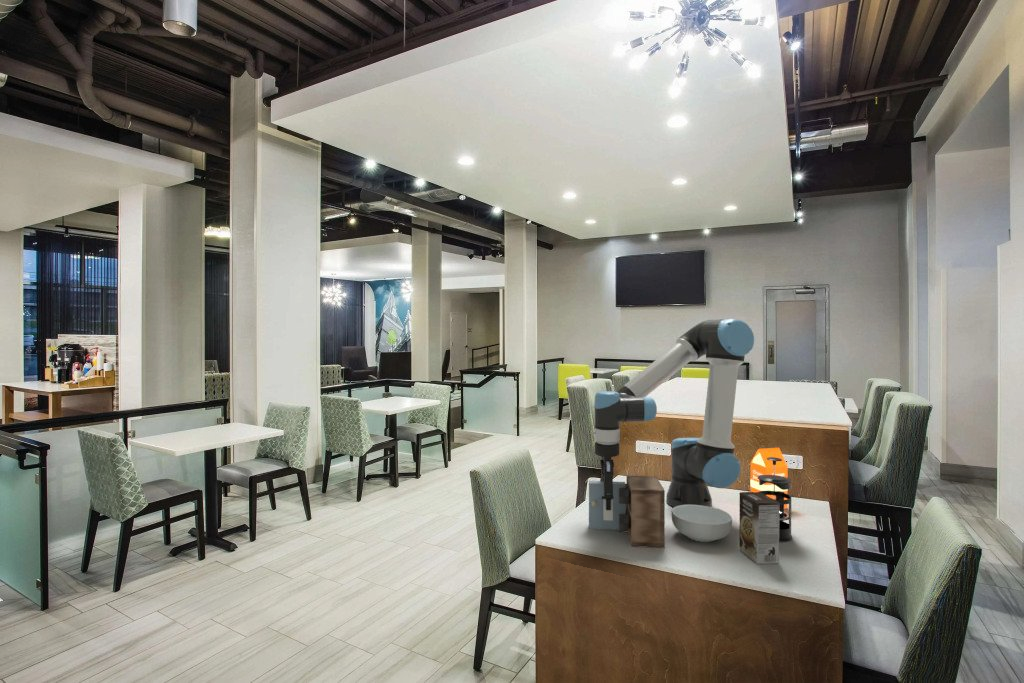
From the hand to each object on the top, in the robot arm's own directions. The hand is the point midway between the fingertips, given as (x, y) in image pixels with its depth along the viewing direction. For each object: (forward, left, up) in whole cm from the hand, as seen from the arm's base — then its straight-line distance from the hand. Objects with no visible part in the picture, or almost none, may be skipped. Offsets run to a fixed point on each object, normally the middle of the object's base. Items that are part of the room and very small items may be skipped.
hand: (606, 513), depth 158 cm
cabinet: (-9, +5, -4) cm, 11 cm away
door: (0, 0, -4) cm, 4 cm away
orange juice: (-57, -27, -5) cm, 63 cm away
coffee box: (-39, +16, -4) cm, 43 cm away
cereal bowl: (-27, +4, -5) cm, 28 cm away
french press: (-49, 0, -4) cm, 49 cm away
